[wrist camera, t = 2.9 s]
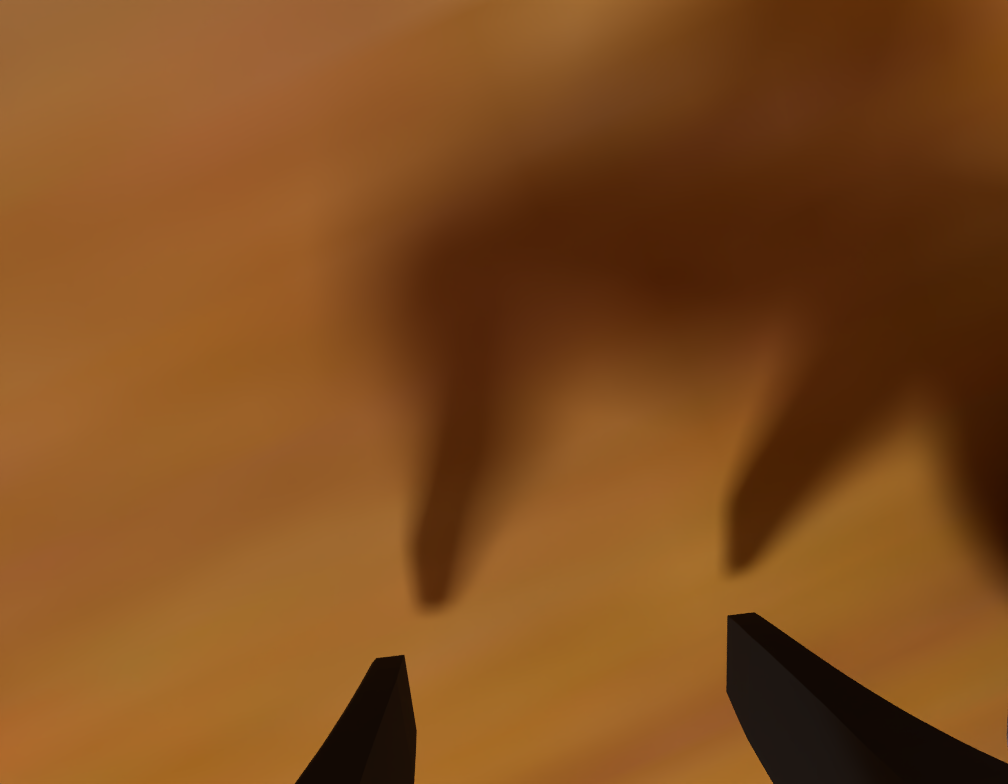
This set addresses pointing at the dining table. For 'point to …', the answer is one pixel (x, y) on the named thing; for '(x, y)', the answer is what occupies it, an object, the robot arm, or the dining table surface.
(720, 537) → the dining table surface
